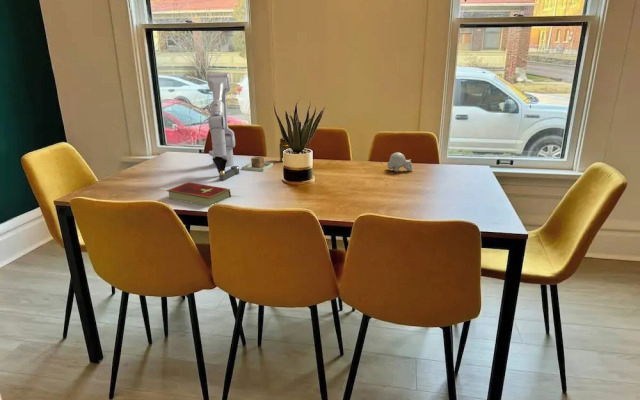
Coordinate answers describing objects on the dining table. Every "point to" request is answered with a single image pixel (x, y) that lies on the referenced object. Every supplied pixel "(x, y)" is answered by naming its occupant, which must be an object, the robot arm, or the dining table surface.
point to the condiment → (282, 147)
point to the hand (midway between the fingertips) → (221, 173)
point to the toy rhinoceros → (399, 162)
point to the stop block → (257, 162)
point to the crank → (229, 173)
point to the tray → (257, 168)
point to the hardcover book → (199, 193)
